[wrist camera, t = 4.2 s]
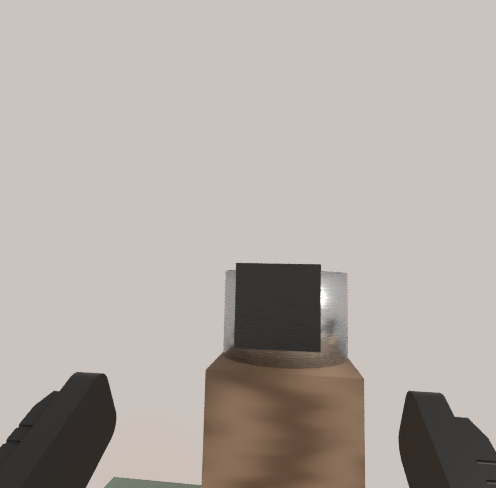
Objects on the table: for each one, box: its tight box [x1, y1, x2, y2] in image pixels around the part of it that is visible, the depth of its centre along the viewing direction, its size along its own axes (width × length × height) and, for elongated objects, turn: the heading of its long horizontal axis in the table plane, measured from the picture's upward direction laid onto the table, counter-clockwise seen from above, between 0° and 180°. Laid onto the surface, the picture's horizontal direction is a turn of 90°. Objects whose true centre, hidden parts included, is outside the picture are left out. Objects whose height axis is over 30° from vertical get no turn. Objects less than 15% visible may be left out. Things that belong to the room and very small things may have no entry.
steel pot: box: [223, 263, 348, 369], centre depth 21 cm, size 9×21×6 cm, turn 173°
